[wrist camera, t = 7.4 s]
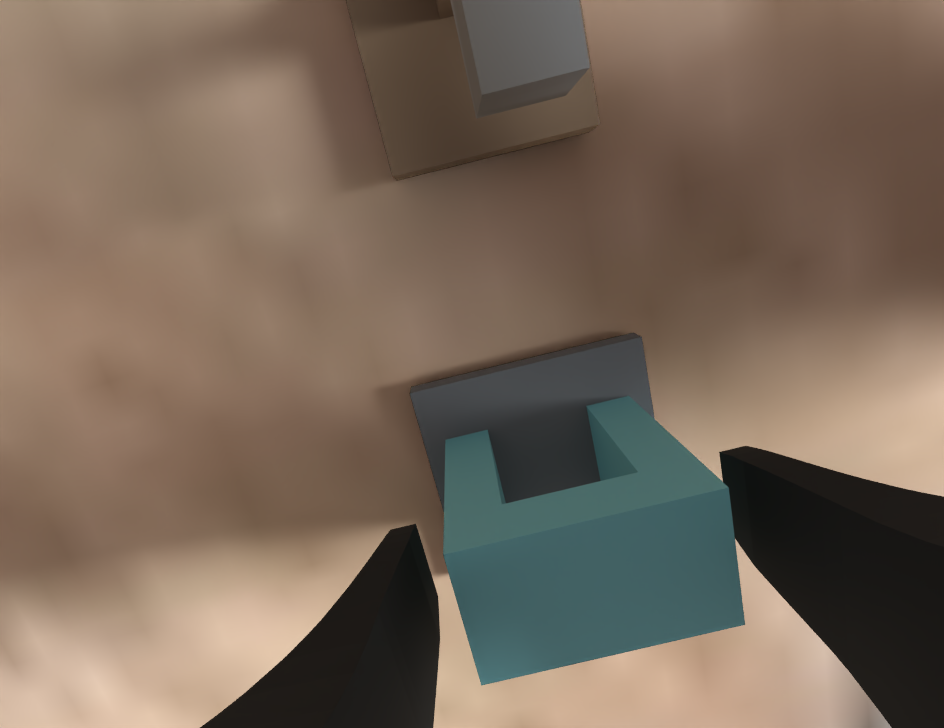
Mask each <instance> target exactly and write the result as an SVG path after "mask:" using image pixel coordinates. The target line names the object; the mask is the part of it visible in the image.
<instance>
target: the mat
mask: <svg viewBox="0 0 944 728" xmlns="http://www.w3.org/2000/svg"><path fill="white" fill-rule="evenodd" d="M410 396H411V400H412V403H413V407H414V410H415V414H416V417H417V421H418V424H419V427H420V431H421V434H422V438H423V441H424V445H425V448H426V452H427V455H428V459H429V462H430V466H431V469H432V473H433V476H434V480H435V483H436V487H437V490H438V494H439V497H440V501H441V504H442V508H443V511H444V491H445V440H447V439H451V438H455V437H459V436H463V435H467V434H472V433H476V432H480V431H484V430H488V433H489V437H490V441H491V445H492V449H493V454H494V458H495V462H496V466H497V470H498V474H499V478H500V482H501V486H502V490H503V494H504V498H505V502H506V503H510V502H514V501H519V500H523V499H527V498H531V497H535V496H540V495H544V494H548V493H552V492H557V491H561V490H565V489H569V488H573V487H578V486H582V485H586V484H590V483H595V482H599V481H601V480H600V475H599V470H598V465H597V459H596V454H595V449H594V444H593V438H592V433H591V428H590V423H589V418H588V412H587V407H586V406H588V405H592V404H597V403H601V402H605V401H609V400H613V399H617V398H622V397H626V396H630V397H631V398H632V399H633V400H634V401H635V402H636V403H637V404H638V405H639V406H640V407H642V408H643V409H644V410H645V411H646V412H647V413H648V414H649V415H650V416H651V417H652V418H654V412H653V406H652V400H651V393H650V387H649V381H648V374H647V368H646V361H645V355H644V349H643V342H642V337H641V336H639V335H637V334H636V333H630V334H626V335H622V336H618V337H614V338H609V339H605V340H601V341H597V342H593V343H589V344H585V345H581V346H577V347H573V348H568V349H564V350H560V351H556V352H552V353H548V354H544V355H540V356H536V357H532V358H527V359H523V360H519V361H515V362H511V363H507V364H503V365H499V366H495V367H491V368H486V369H482V370H478V371H474V372H470V373H466V374H462V375H458V376H454V377H450V378H445V379H441V380H437V381H433V382H429V383H425V384H421V385H417V386H413V387H411V390H410Z"/></svg>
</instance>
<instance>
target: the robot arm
mask: <svg viewBox="0 0 944 728" xmlns="http://www.w3.org/2000/svg"><path fill="white" fill-rule="evenodd" d="M719 453H720V461H721V469H722V477H723V483H724V484H725V485H727V486H728V487H729V495H730V503H731V511H732V520H733V528H734V537H735V539H736V540H737V542H738V543H739V545H740V546H741V547H742V549H743V550H744V552H745V553H746V555H747V556H748V557H749V559H750V560H751V561H752V563H753V564H754V566H755V567H756V568H757V569H758V570H759V571H760V573H761V574H762V575H763V576H764V577H765V578H766V579H767V580H768V581H769V583H770V584H771V585H772V586H773V587H774V588H775V589H776V590H777V591H778V593H779V594H780V595H781V596H782V597H783V598H784V599H785V600H786V601H787V602H788V604H789V605H790V606H791V607H792V608H793V609H794V610H795V611H796V612H797V613H798V614H799V616H800V617H801V618H802V619H803V620H804V621H805V622H806V623H807V624H808V625H809V626H810V628H811V629H812V630H813V631H814V632H815V633H816V634H817V635H818V636H819V637H820V638H821V640H822V641H823V642H824V643H825V644H826V645H827V646H828V647H829V648H830V649H831V650H832V652H833V653H834V654H835V655H836V656H837V658H838V659H839V660H840V661H841V662H842V663H843V665H844V666H845V667H846V668H847V669H848V670H849V672H850V673H851V674H852V676H853V677H854V678H855V680H856V681H857V682H858V683H859V685H860V686H861V687H862V689H863V690H864V691H865V693H866V694H867V695H868V697H869V698H870V699H871V701H872V702H873V703H874V704H875V706H876V707H877V708H878V710H879V711H880V712H881V714H882V715H883V716H884V718H885V719H886V720H887V722H888V723H889V724H890V726H891V727H892V728H944V497H942V496H937V495H932V494H927V493H921V492H917V491H912V490H907V489H903V488H898V487H894V486H890V485H886V484H882V483H878V482H874V481H870V480H866V479H862V478H859V477H855V476H851V475H848V474H844V473H840V472H837V471H833V470H830V469H827V468H823V467H820V466H816V465H813V464H810V463H806V462H803V461H800V460H796V459H793V458H790V457H786V456H783V455H780V454H776V453H773V452H769V451H766V450H762V449H758V448H753V447H749V446H743V447H739V448H735V449H731V450H726V451H722V452H719ZM439 644H440V628H439V606H438V595H437V592H436V588H435V585H434V582H433V579H432V575H431V572H430V569H429V565H428V562H427V559H426V556H425V552H424V549H423V546H422V543H421V539H420V536H419V533H418V529H417V526H416V524H413V525H409V526H405V527H400V528H396V529H392V530H390V531H389V533H388V534H387V535H386V536H385V538H384V539H383V541H382V542H381V543H380V545H379V546H378V548H377V549H376V550H375V552H374V553H373V555H372V556H371V557H370V559H369V560H368V562H367V563H366V564H365V566H364V567H363V568H362V570H361V571H360V572H359V574H358V575H357V576H356V578H355V579H354V580H353V582H352V583H351V584H350V586H349V587H348V588H347V589H346V591H345V592H344V593H343V594H342V595H341V597H340V598H339V599H338V600H337V602H336V603H335V604H334V605H333V606H332V608H331V609H330V610H329V611H328V612H327V614H326V615H325V616H324V617H323V618H322V620H321V621H320V622H319V623H318V624H317V625H316V626H315V627H314V628H313V629H312V631H311V632H310V633H309V634H308V635H307V636H306V637H305V638H304V639H303V640H302V641H301V642H300V643H299V644H298V645H297V646H296V647H295V648H294V649H293V650H292V651H291V652H290V653H289V654H288V655H287V656H286V657H285V658H284V659H283V660H282V661H281V662H279V663H278V664H277V665H276V666H275V667H274V668H273V669H272V670H270V671H269V672H268V673H267V674H266V675H265V676H264V677H262V678H261V679H260V680H259V681H258V682H257V683H256V684H255V685H253V686H252V687H251V688H250V689H249V690H248V691H247V692H246V693H244V694H243V695H242V696H241V697H239V698H238V699H237V700H236V701H234V702H233V703H232V704H231V705H229V706H228V707H227V708H226V709H224V710H223V711H222V712H220V713H219V714H218V715H217V716H215V717H214V718H213V719H211V720H210V721H209V722H207V723H206V724H204V725H203V726H202V727H200V728H433V722H434V710H435V697H436V685H437V672H438V659H439Z"/></svg>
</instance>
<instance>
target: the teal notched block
mask: <svg viewBox="0 0 944 728" xmlns="http://www.w3.org/2000/svg"><path fill="white" fill-rule="evenodd" d="M586 407H587V412H588V418H589V423H590V428H591V433H592V438H593V444H594V449H595V454H596V459H597V465H598V470H599V475H600V480H601V481H599V482H595V483H590V484H586V485H582V486H578V487H573V488H569V489H565V490H561V491H557V492H552V493H548V494H544V495H540V496H535V497H531V498H527V499H523V500H519V501H514V502H510V503H506V502H505V498H504V494H503V490H502V486H501V482H500V478H499V474H498V470H497V466H496V462H495V458H494V454H493V449H492V445H491V441H490V437H489V433H488V430H484V431H480V432H476V433H472V434H467V435H463V436H459V437H455V438H451V439H447V440H445V491H444V543H443V555H444V559H445V562H446V566H447V569H448V573H449V576H450V579H451V583H452V586H453V590H454V593H455V596H456V600H457V603H458V607H459V610H460V614H461V617H462V620H463V624H464V627H465V631H466V634H467V638H468V641H469V644H470V648H471V651H472V655H473V658H474V661H475V665H476V668H477V672H478V675H479V679H480V682H481V685H485V684H489V683H494V682H498V681H503V680H507V679H511V678H516V677H520V676H524V675H529V674H533V673H537V672H542V671H546V670H550V669H555V668H559V667H563V666H568V665H572V664H576V663H581V662H585V661H589V660H594V659H598V658H602V657H607V656H611V655H615V654H620V653H624V652H628V651H633V650H637V649H641V648H646V647H650V646H654V645H659V644H663V643H667V642H672V641H676V640H680V639H685V638H689V637H693V636H698V635H702V634H706V633H711V632H715V631H720V630H724V629H728V628H733V627H737V626H741V625H745V620H744V612H743V604H742V595H741V587H740V578H739V570H738V562H737V553H736V545H735V537H734V528H733V520H732V511H731V503H730V495H729V487H728V486H727V485H725V484H724V483H723V482H722V481H721V480H720V479H719V478H718V477H717V476H716V475H715V474H713V473H712V472H711V471H710V470H709V469H708V468H707V467H706V466H705V465H704V464H703V463H701V462H700V461H699V460H698V459H697V458H696V457H695V456H694V455H693V454H692V453H691V452H690V451H688V450H687V449H686V448H685V447H684V446H683V445H682V444H681V443H680V442H679V441H678V440H676V439H675V438H674V437H673V436H672V435H671V434H670V433H669V432H668V431H667V430H666V429H664V428H663V427H662V426H661V425H660V424H659V423H658V422H657V421H656V420H655V419H654V418H652V417H651V416H650V415H649V414H648V413H647V412H646V411H645V410H644V409H643V408H642V407H640V406H639V405H638V404H637V403H636V402H635V401H634V400H633V399H632V398H631V397H630V396H626V397H622V398H617V399H613V400H609V401H605V402H601V403H597V404H592V405H588V406H586Z"/></svg>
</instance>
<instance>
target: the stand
mask: <svg viewBox="0 0 944 728" xmlns="http://www.w3.org/2000/svg"><path fill="white" fill-rule="evenodd" d="M346 3H347V6H348V10H349V14H350V18H351V21H352V25H353V29H354V33H355V37H356V40H357V44H358V48H359V52H360V55H361V59H362V63H363V67H364V70H365V74H366V78H367V82H368V86H369V89H370V93H371V97H372V101H373V104H374V108H375V112H376V116H377V120H378V123H379V127H380V131H381V135H382V138H383V142H384V146H385V150H386V153H387V157H388V161H389V165H390V169H391V172H392V176H393V177H394V178H395V179H396V180H401V179H405V178H409V177H413V176H417V175H421V174H425V173H429V172H433V171H437V170H441V169H445V168H449V167H453V166H456V165H460V164H464V163H468V162H472V161H476V160H480V159H484V158H488V157H492V156H496V155H500V154H504V153H508V152H512V151H516V150H520V149H524V148H528V147H532V146H536V145H540V144H544V143H548V142H552V141H556V140H560V139H564V138H568V137H572V136H576V135H580V134H583V133H587V132H590V131H591V130H593V129H594V128H595V127H597V126H598V125H600V119H599V113H598V107H597V101H596V94H595V88H594V82H593V76H592V70H591V63H590V57H589V51H588V45H587V38H586V32H585V26H584V20H583V14H582V7H581V1H580V0H346Z"/></svg>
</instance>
